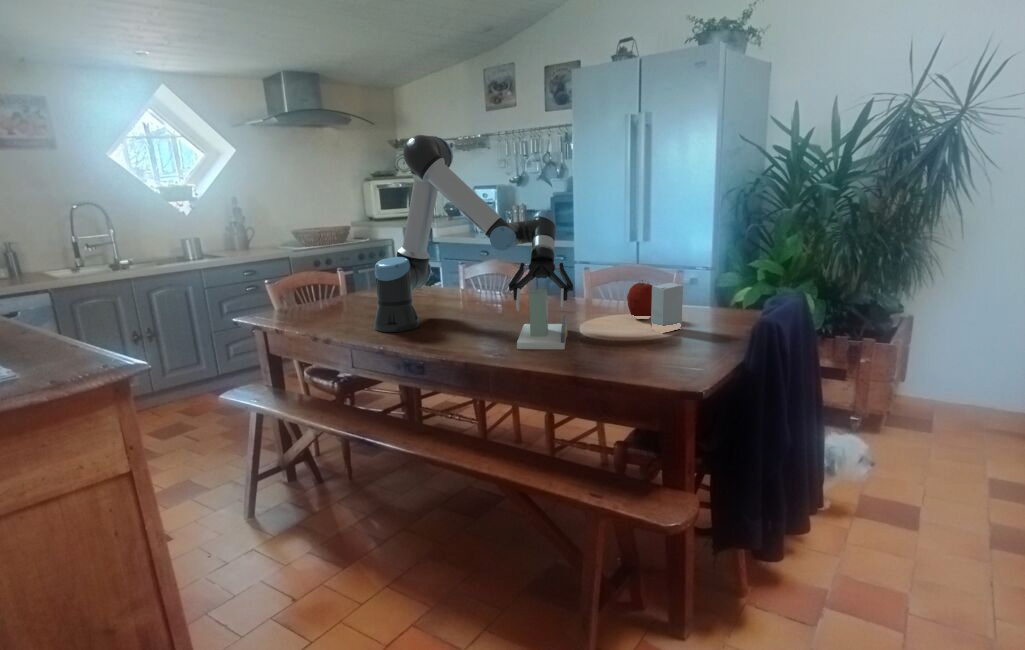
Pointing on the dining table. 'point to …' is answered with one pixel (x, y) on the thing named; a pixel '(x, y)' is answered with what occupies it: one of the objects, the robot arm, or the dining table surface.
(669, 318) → the skincare box
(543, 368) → the dining table surface
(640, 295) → the apple
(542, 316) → the product carton
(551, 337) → the shelf board
